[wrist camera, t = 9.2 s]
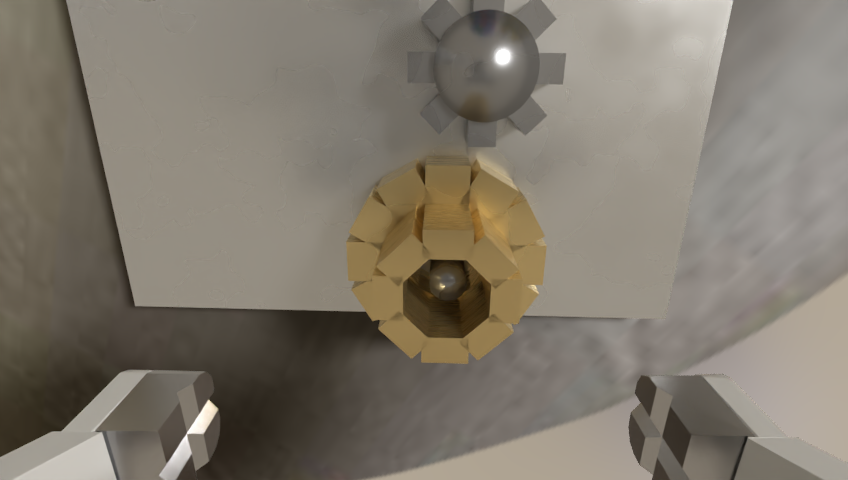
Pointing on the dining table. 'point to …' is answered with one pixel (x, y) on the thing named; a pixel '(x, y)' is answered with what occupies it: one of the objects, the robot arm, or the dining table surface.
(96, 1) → the plate
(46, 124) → the dining table surface
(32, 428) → the dining table surface
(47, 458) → the robot arm
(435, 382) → the dining table surface
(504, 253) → the gear
